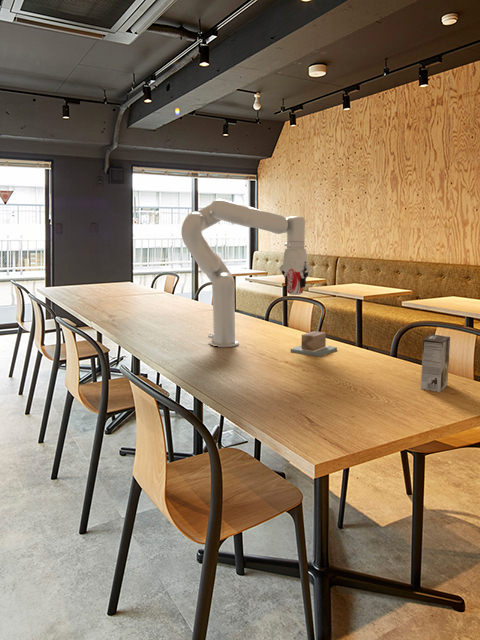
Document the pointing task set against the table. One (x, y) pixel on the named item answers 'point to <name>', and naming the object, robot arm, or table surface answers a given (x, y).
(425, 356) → the coffee box
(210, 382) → the table surface
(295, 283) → the soda can
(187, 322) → the table surface
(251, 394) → the table surface
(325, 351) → the grey flat square slab
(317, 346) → the walnut block
